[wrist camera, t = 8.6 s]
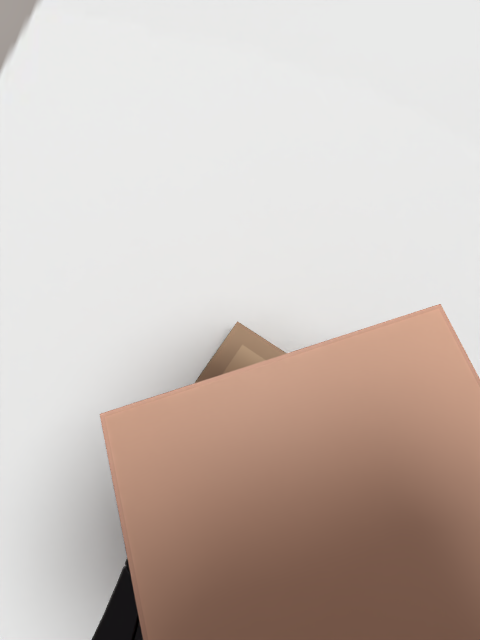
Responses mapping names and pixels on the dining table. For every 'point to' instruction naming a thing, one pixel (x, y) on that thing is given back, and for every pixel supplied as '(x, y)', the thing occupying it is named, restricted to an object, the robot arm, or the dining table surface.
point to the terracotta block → (309, 493)
